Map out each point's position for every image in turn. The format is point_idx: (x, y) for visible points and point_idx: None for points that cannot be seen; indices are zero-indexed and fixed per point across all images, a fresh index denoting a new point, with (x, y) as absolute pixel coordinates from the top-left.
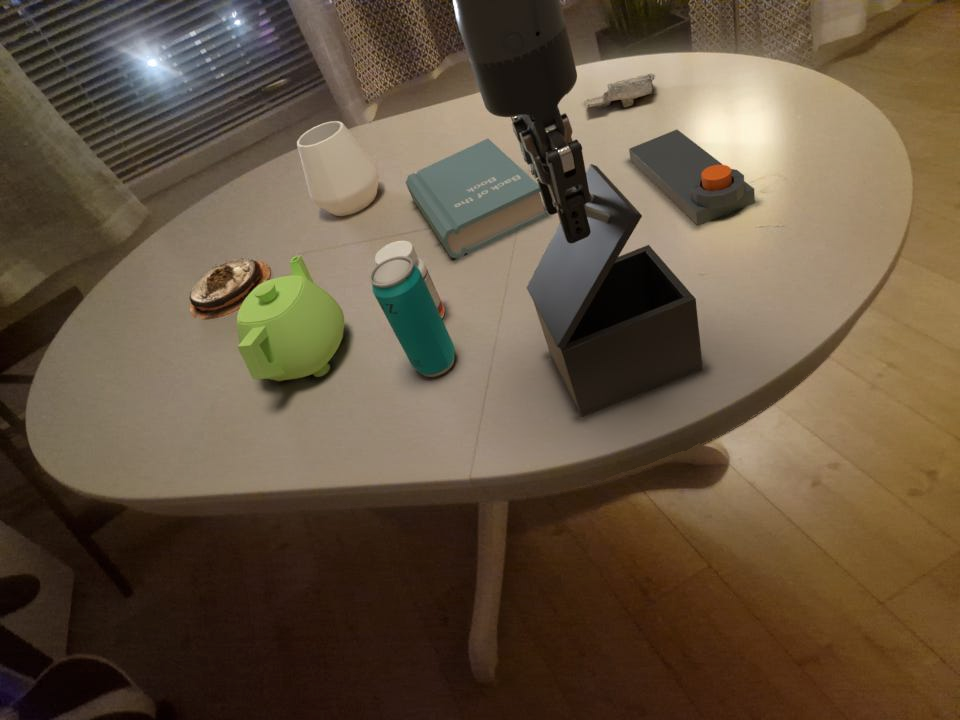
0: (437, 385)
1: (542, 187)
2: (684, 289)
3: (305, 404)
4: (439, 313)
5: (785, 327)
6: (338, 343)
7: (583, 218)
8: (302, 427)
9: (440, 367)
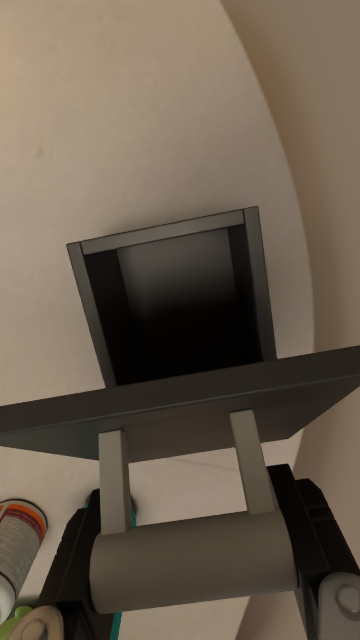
0: (146, 508)
1: (108, 625)
2: (225, 217)
3: (128, 631)
4: (25, 511)
5: (195, 74)
6: None
7: (338, 529)
8: (162, 630)
9: (133, 513)
